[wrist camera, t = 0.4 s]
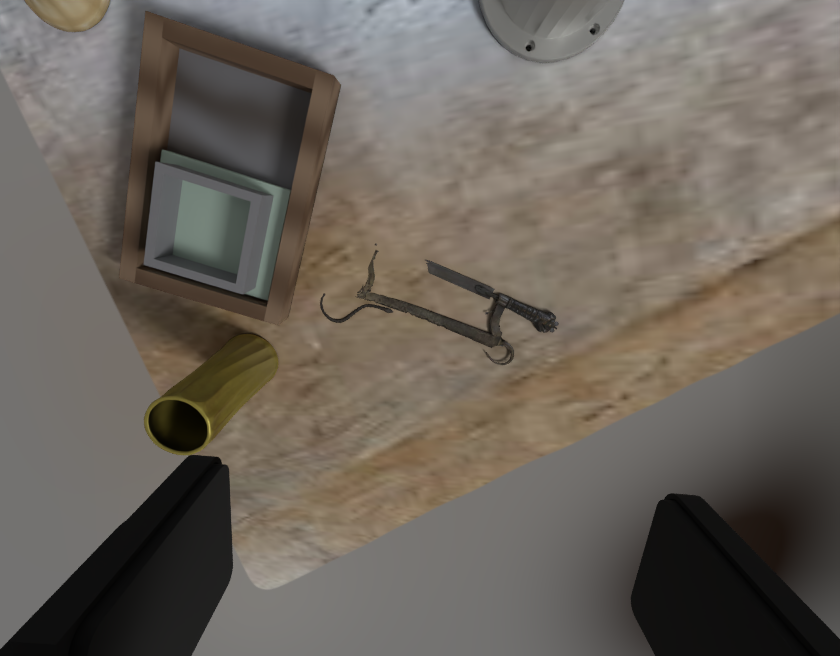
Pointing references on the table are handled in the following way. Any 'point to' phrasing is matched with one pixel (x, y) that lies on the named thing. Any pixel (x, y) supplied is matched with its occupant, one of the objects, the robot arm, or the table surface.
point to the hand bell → (70, 13)
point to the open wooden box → (227, 144)
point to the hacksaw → (538, 318)
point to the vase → (210, 395)
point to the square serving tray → (215, 225)
